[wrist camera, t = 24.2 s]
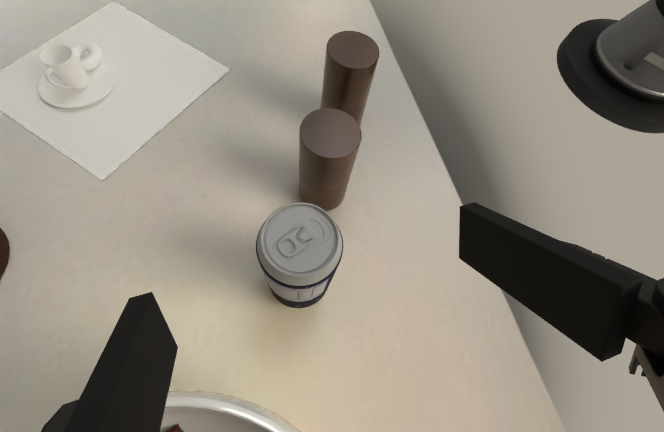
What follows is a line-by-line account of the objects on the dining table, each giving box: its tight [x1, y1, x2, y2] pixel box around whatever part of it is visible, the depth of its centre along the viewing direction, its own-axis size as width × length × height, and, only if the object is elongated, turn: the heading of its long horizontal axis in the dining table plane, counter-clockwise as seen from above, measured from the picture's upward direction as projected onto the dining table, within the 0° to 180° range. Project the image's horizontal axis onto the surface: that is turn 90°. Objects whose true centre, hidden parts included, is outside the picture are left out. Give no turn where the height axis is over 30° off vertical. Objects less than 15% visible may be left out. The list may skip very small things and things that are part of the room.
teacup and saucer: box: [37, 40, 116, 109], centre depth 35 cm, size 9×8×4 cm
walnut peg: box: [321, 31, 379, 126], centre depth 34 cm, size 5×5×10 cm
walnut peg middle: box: [299, 108, 361, 211], centre depth 30 cm, size 5×5×10 cm
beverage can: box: [256, 202, 343, 308], centre depth 25 cm, size 6×6×12 cm
